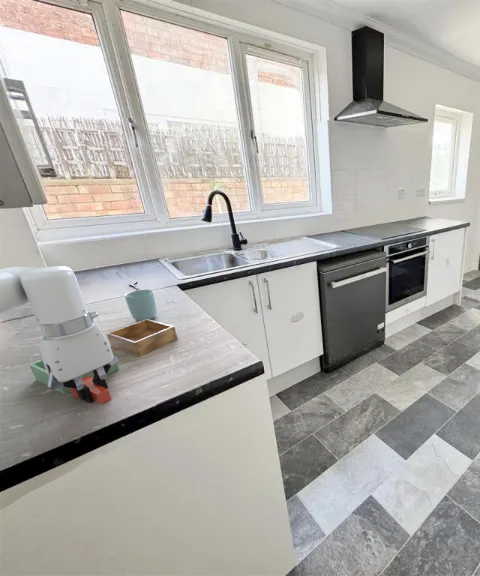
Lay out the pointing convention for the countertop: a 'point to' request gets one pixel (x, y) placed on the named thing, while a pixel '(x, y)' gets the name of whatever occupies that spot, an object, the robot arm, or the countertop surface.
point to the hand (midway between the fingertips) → (95, 396)
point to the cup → (141, 304)
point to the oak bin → (142, 337)
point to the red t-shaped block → (94, 391)
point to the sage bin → (43, 377)
